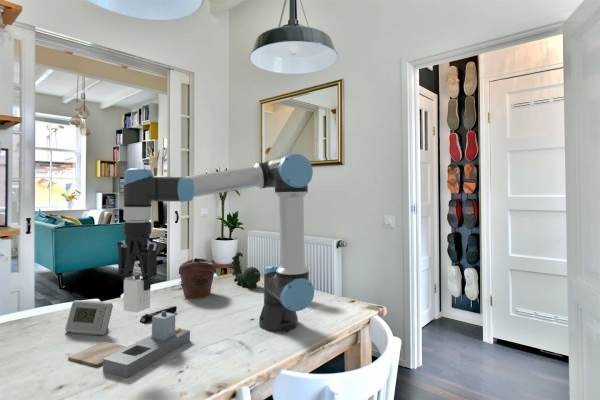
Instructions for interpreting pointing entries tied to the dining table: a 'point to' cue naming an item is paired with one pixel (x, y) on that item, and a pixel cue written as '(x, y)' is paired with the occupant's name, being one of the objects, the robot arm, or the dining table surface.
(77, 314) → the digital clock
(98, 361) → the walnut mat
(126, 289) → the block
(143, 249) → the robot arm
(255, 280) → the toy figurine
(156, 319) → the block
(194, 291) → the brown flower pot
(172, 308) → the electric trimmer
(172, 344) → the grey long flat block
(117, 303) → the dining table surface
